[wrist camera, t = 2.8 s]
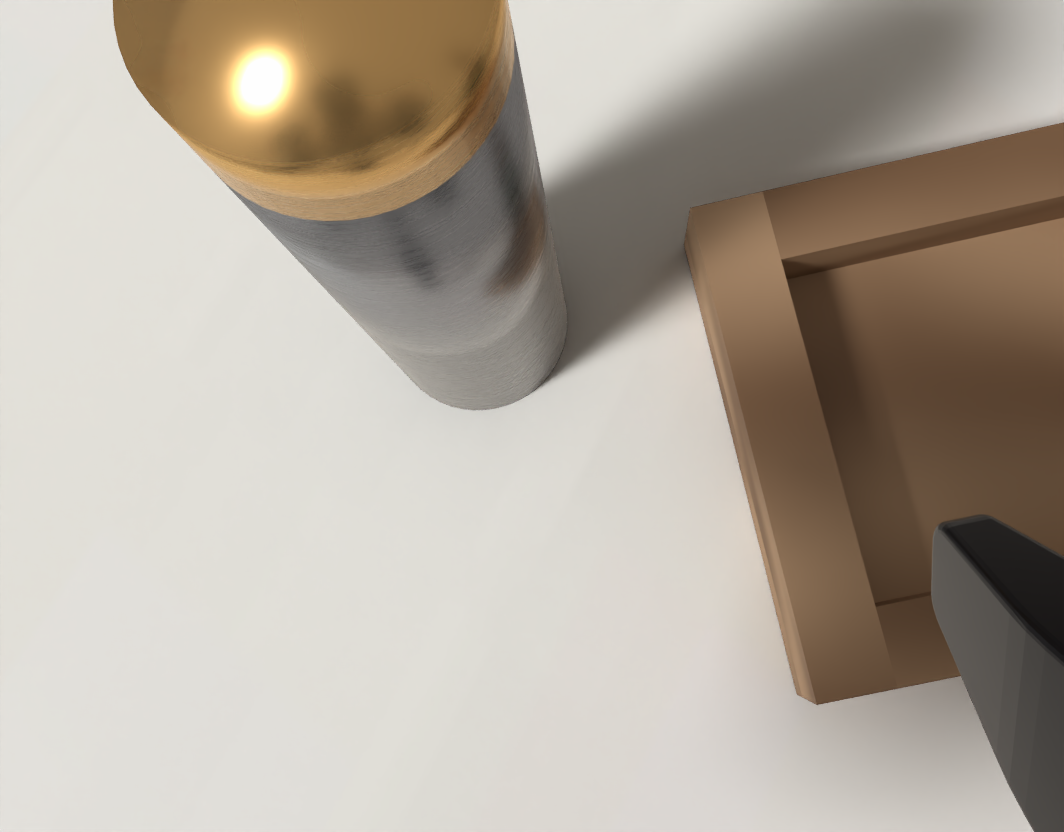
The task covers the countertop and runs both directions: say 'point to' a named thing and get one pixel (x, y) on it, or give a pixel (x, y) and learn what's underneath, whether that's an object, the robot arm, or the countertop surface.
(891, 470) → the wooden tray
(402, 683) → the countertop surface
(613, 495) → the countertop surface
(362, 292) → the silver metal cylinder
